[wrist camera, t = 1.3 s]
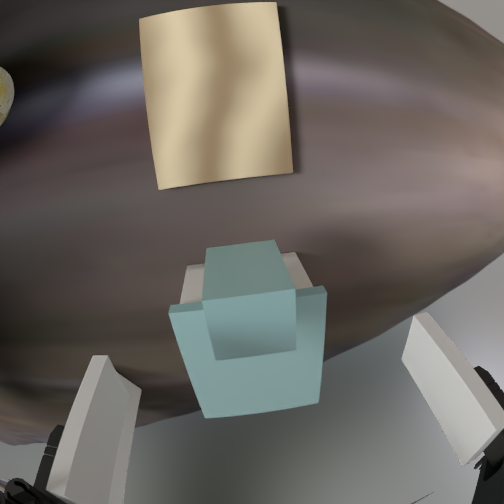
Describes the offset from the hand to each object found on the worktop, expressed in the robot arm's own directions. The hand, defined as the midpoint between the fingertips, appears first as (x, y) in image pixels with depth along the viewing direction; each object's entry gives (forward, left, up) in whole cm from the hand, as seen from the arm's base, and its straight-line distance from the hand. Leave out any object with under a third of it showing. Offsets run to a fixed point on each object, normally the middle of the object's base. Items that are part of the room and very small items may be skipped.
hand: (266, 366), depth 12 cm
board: (-1, +12, -16) cm, 20 cm away
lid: (0, -7, -9) cm, 12 cm away
